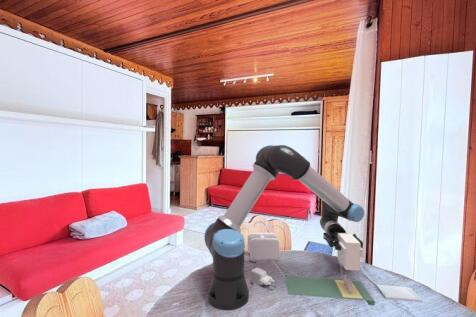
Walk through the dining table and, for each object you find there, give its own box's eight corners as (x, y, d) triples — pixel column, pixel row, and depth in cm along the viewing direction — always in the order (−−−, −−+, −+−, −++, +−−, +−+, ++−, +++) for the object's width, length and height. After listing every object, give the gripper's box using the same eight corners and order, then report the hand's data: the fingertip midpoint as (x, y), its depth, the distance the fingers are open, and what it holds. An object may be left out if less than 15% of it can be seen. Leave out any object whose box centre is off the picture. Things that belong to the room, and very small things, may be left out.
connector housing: (345, 269, 86) (346, 242, 85) (337, 257, 95) (337, 233, 95) (360, 270, 85) (360, 243, 85) (350, 258, 95) (350, 233, 95)
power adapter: (279, 290, 92) (279, 275, 92) (271, 295, 88) (271, 280, 88) (257, 279, 100) (257, 265, 99) (249, 284, 96) (249, 269, 96)
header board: (288, 298, 87) (288, 283, 87) (285, 279, 100) (285, 266, 100) (374, 305, 83) (374, 289, 83) (360, 284, 96) (360, 271, 96)
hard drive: (385, 296, 87) (422, 299, 85) (375, 284, 95) (409, 286, 93) (385, 300, 87) (422, 303, 85) (375, 288, 95) (409, 290, 93)
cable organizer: (248, 262, 114) (248, 239, 114) (247, 253, 125) (247, 231, 125) (279, 263, 115) (279, 239, 114) (275, 253, 125) (275, 232, 125)
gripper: (355, 240, 107) (379, 264, 84) (314, 238, 109) (327, 261, 86) (355, 224, 107) (380, 243, 84) (314, 222, 109) (327, 241, 86)
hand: (353, 252), depth 85 cm, fingers closed on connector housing, 5 cm apart
